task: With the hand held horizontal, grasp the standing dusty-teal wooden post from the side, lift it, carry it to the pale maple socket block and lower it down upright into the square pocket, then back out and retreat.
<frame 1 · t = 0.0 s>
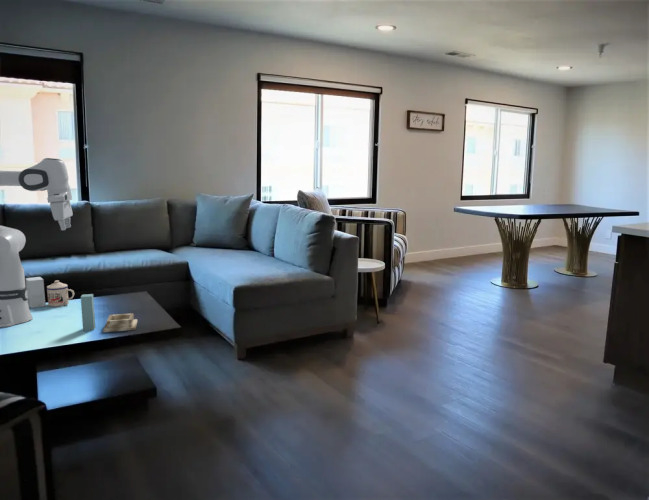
hand: (66, 228, 217), 39 cm above the table, tool pointing down, fingers open, 8 cm apart
small box: (36, 305, 241), on the table
post: (89, 329, 206), on the table
socket: (121, 326, 209), on the table
teacup with lid: (61, 304, 243), on the table
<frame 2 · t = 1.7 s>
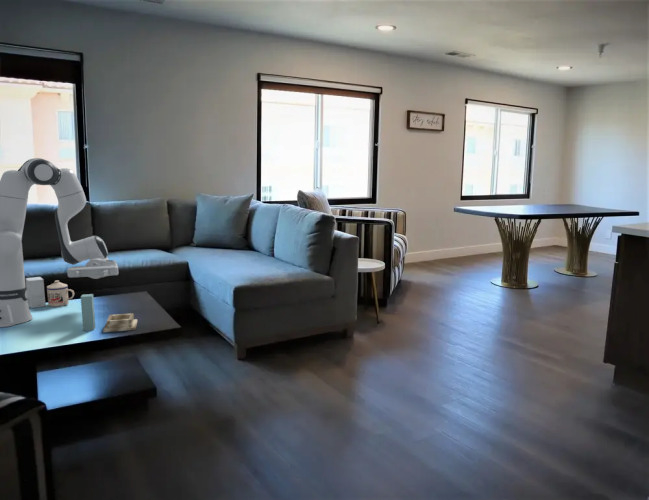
hand: (90, 274, 214), 20 cm above the table, tool horizontal, fingers open, 8 cm apart
nothing on the table moved.
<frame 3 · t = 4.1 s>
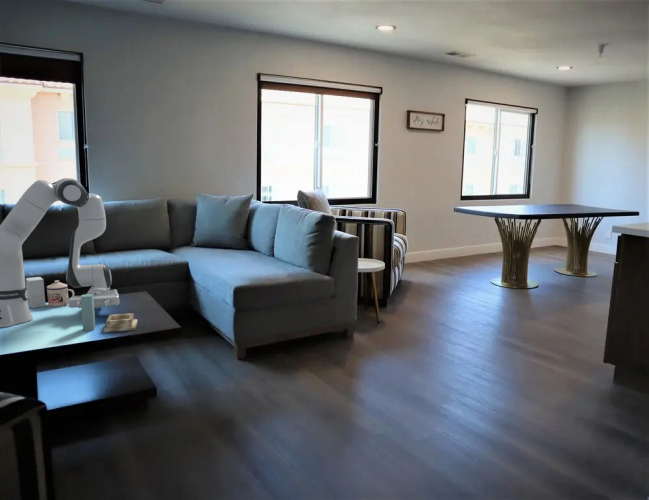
hand: (91, 305, 213), 7 cm above the table, tool horizontal, fingers open, 8 cm apart
nothing on the table moved.
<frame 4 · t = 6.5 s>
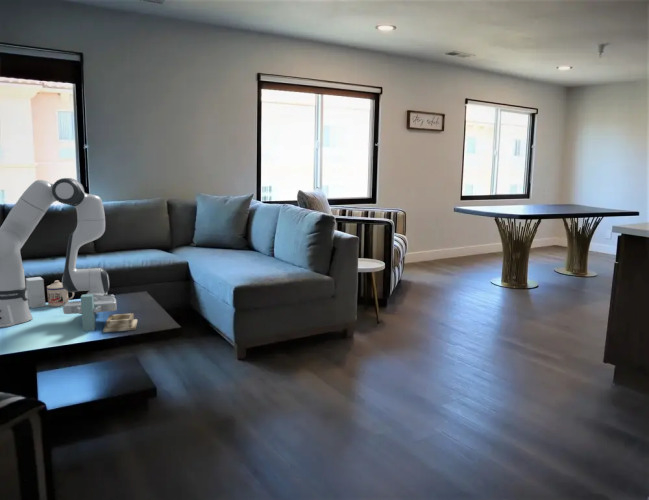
hand: (87, 311, 204), 8 cm above the table, tool horizontal, fingers closed on post, 4 cm apart
post: (89, 329, 206), on the table, touching gripper
everything else where it was.
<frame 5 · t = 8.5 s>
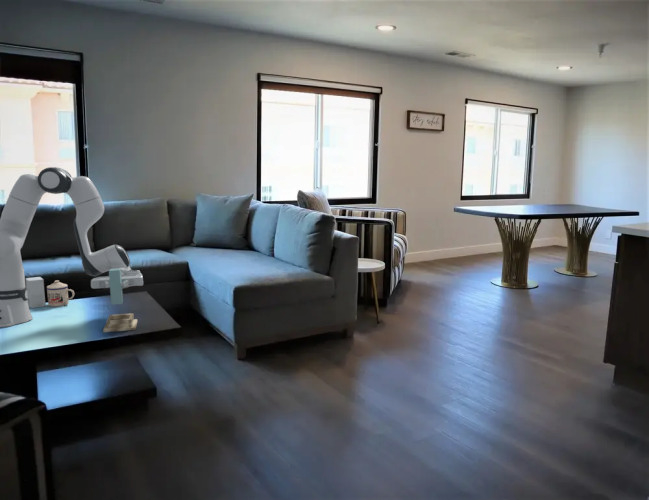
hand: (115, 285, 205), 18 cm above the table, tool horizontal, fingers closed on post, 4 cm apart
post: (117, 303, 207), point 10 cm above the table, touching gripper
everything else where it was.
when the fingers open (9 cm above the table, at t = 10.8 s): post stays where it is, resting on socket.
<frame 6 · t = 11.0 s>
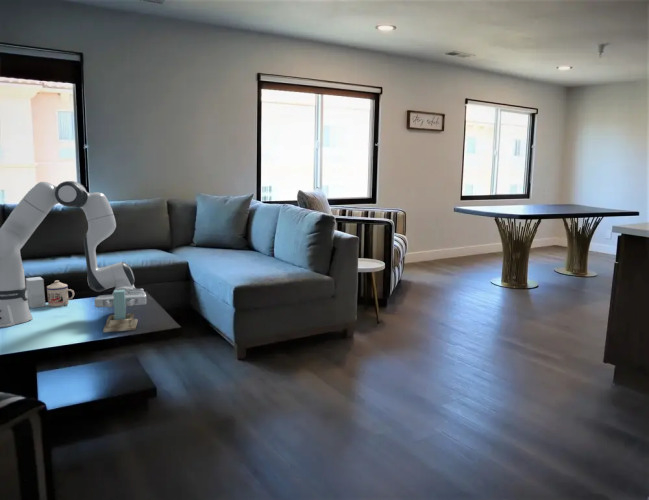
hand: (119, 304, 207), 9 cm above the table, tool horizontal, fingers open, 6 cm apart
post: (120, 324, 209), point 1 cm above the table, touching socket
everything else where it was.
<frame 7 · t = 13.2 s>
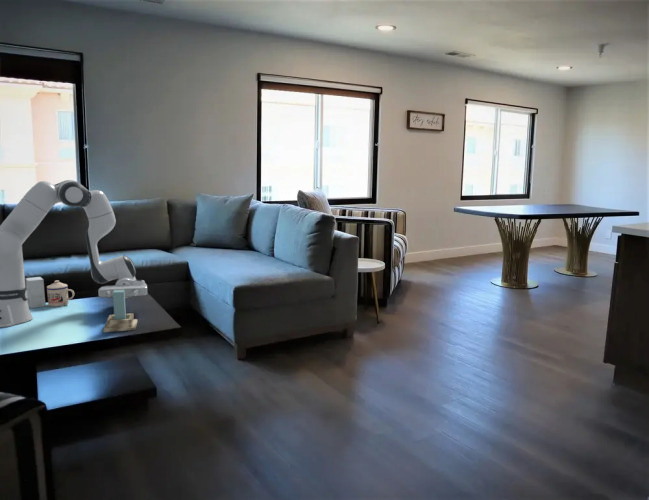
hand: (121, 294, 219), 11 cm above the table, tool horizontal, fingers open, 8 cm apart
nothing on the table moved.
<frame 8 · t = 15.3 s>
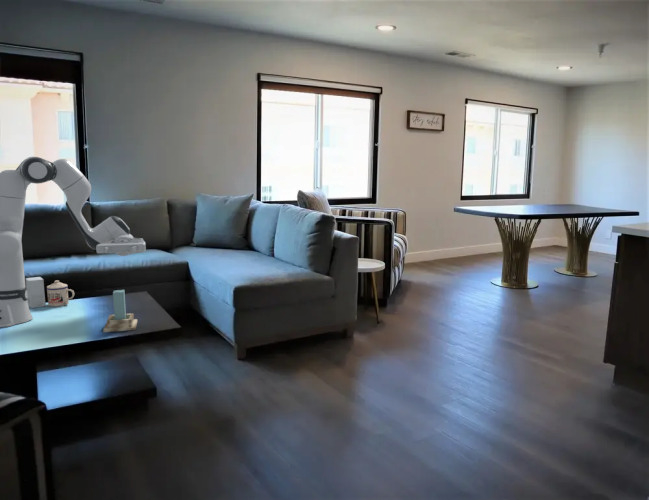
hand: (119, 250, 216), 30 cm above the table, tool horizontal, fingers open, 8 cm apart
nothing on the table moved.
at the end: post 0.1 cm off-centre on the socket, point 1.0 cm above the socket's base; post tilted 0°; the gripper is holding nothing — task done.
